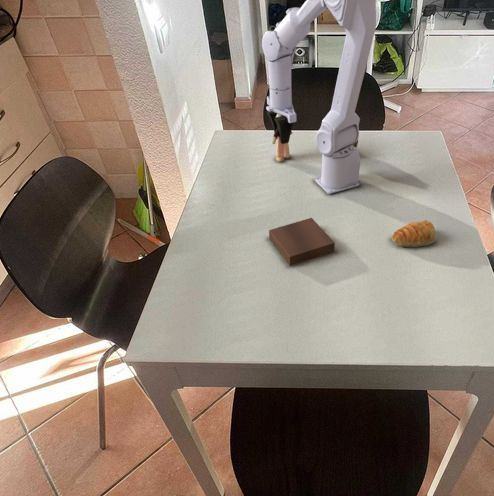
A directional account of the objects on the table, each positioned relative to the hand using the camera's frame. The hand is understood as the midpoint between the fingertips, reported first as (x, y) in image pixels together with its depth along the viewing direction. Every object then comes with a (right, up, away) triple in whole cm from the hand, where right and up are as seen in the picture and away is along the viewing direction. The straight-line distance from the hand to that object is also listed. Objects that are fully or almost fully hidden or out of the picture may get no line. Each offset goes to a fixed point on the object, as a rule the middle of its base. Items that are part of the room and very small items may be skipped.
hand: (282, 140), depth 120 cm
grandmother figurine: (0, -3, +4) cm, 5 cm away
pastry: (+31, -34, -23) cm, 51 cm away
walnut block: (+5, -35, -23) cm, 43 cm away
